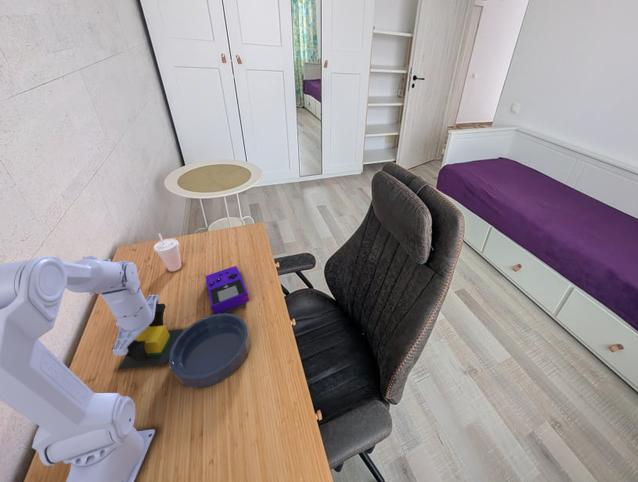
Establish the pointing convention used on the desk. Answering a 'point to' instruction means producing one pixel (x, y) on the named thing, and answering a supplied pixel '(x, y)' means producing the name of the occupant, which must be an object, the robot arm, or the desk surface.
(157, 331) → the sponge
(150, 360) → the mat
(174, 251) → the smoothie
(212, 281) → the handheld gaming console
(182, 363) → the bowl
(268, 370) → the desk surface
